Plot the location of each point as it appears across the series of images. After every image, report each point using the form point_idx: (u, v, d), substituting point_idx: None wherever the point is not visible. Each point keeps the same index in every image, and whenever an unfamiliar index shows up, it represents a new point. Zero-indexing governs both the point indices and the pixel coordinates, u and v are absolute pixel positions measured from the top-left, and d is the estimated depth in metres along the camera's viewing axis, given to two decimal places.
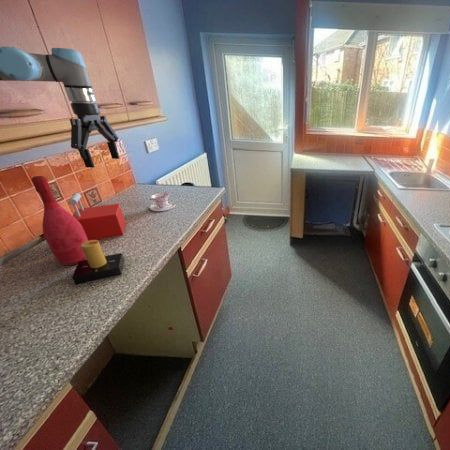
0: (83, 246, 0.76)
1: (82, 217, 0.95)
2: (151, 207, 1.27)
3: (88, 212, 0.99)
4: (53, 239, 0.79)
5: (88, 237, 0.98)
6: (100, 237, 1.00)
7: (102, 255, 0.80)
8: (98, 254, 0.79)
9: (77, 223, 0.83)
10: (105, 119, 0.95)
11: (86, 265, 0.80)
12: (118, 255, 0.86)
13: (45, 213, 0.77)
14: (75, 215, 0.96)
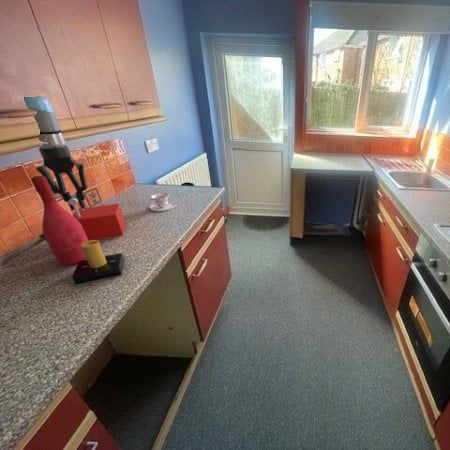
0: (83, 246, 0.76)
1: (82, 217, 0.95)
2: (151, 207, 1.27)
3: (88, 212, 0.99)
4: (53, 239, 0.79)
5: (88, 237, 0.98)
6: (100, 237, 1.00)
7: (102, 255, 0.80)
8: (98, 254, 0.79)
9: (77, 223, 0.83)
10: (80, 167, 0.91)
11: (86, 265, 0.80)
12: (118, 255, 0.86)
13: (45, 213, 0.77)
14: (75, 215, 0.96)
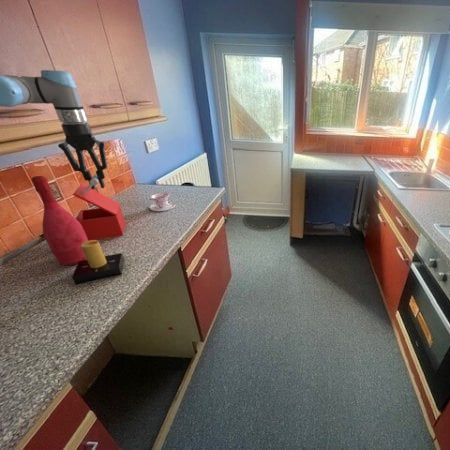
0: (83, 246, 0.76)
1: (86, 197, 0.93)
2: (151, 207, 1.27)
3: (92, 195, 0.97)
4: (53, 239, 0.79)
5: (88, 237, 0.98)
6: (100, 237, 1.00)
7: (102, 255, 0.80)
8: (98, 254, 0.79)
9: (77, 223, 0.83)
10: (101, 145, 0.91)
11: (86, 265, 0.80)
12: (118, 255, 0.86)
13: (45, 213, 0.77)
14: (80, 190, 0.94)
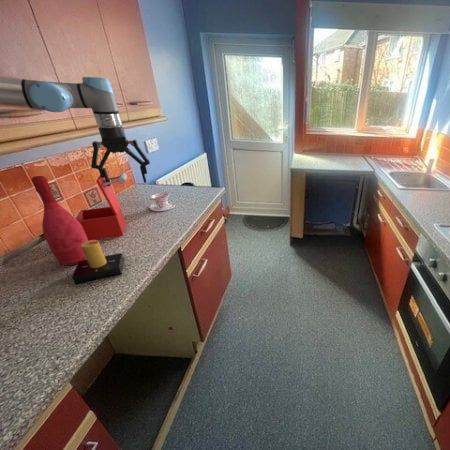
0: (83, 246, 0.76)
1: (104, 188, 0.94)
2: (151, 207, 1.27)
3: (107, 187, 0.98)
4: (53, 239, 0.79)
5: (88, 237, 0.98)
6: (100, 237, 1.00)
7: (102, 255, 0.80)
8: (98, 254, 0.79)
9: (77, 223, 0.83)
10: (134, 144, 0.95)
11: (86, 265, 0.80)
12: (118, 255, 0.86)
13: (45, 213, 0.77)
14: (102, 179, 0.95)
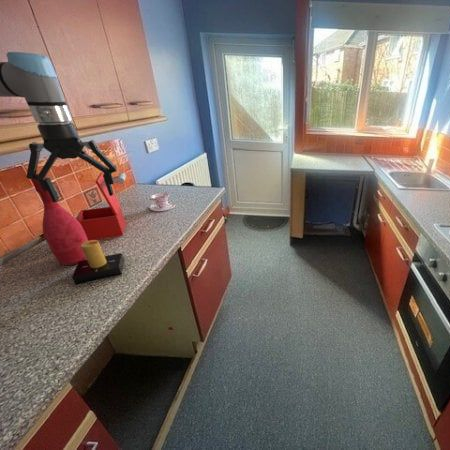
0: (83, 246, 0.76)
1: (103, 188, 0.94)
2: (151, 207, 1.27)
3: (106, 187, 0.98)
4: (53, 239, 0.79)
5: (88, 237, 0.98)
6: (100, 237, 1.00)
7: (102, 255, 0.80)
8: (98, 254, 0.79)
9: (77, 223, 0.83)
10: (91, 146, 0.71)
11: (86, 265, 0.80)
12: (118, 255, 0.86)
13: (45, 213, 0.77)
14: (101, 179, 0.95)
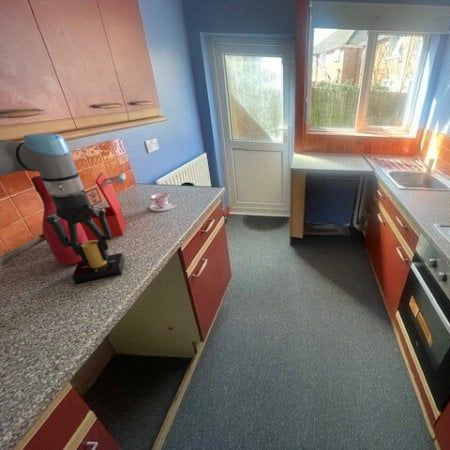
0: (83, 246, 0.76)
1: (103, 188, 0.94)
2: (151, 207, 1.27)
3: (106, 187, 0.98)
4: (53, 239, 0.79)
5: (88, 237, 0.98)
6: None
7: None
8: (98, 254, 0.79)
9: (77, 223, 0.83)
10: (100, 214, 0.74)
11: (86, 265, 0.80)
12: (118, 255, 0.86)
13: (45, 213, 0.77)
14: (101, 179, 0.95)
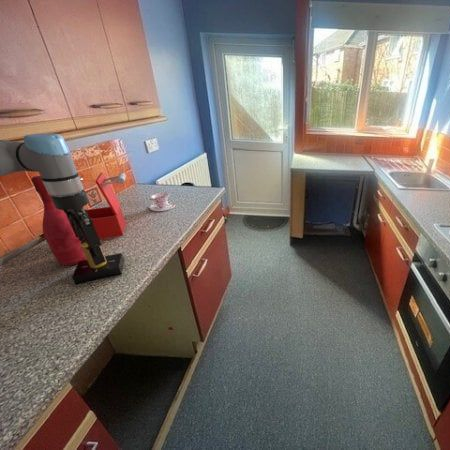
0: None
1: (103, 188, 0.94)
2: (151, 207, 1.27)
3: (106, 187, 0.98)
4: (53, 239, 0.79)
5: None
6: (100, 237, 1.00)
7: None
8: None
9: None
10: None
11: (86, 265, 0.80)
12: (118, 255, 0.86)
13: (45, 213, 0.77)
14: (101, 179, 0.95)
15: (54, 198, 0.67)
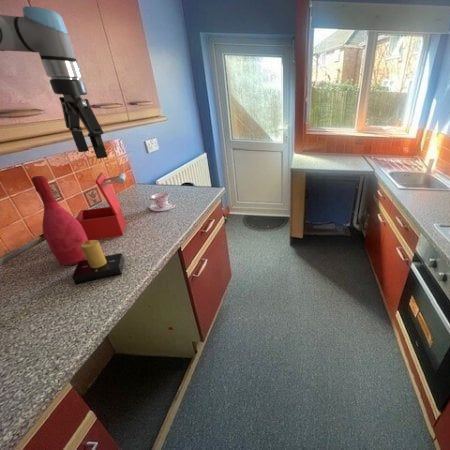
0: (96, 243, 0.78)
1: (103, 188, 0.94)
2: (151, 207, 1.27)
3: (106, 187, 0.98)
4: (53, 239, 0.79)
5: (88, 237, 0.98)
6: (100, 237, 1.00)
7: None
8: None
9: (77, 223, 0.83)
10: None
11: (86, 265, 0.80)
12: (118, 255, 0.86)
13: (45, 213, 0.77)
14: (101, 179, 0.95)
15: (53, 80, 0.68)
